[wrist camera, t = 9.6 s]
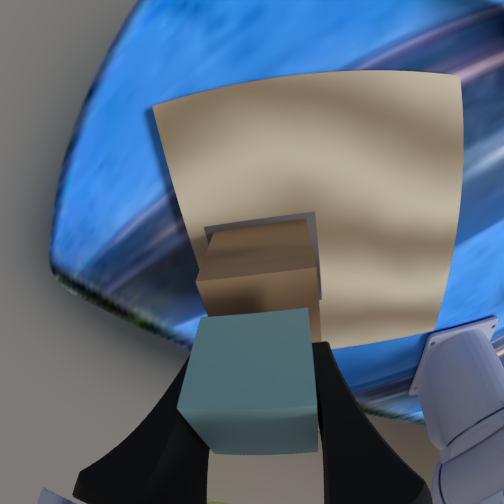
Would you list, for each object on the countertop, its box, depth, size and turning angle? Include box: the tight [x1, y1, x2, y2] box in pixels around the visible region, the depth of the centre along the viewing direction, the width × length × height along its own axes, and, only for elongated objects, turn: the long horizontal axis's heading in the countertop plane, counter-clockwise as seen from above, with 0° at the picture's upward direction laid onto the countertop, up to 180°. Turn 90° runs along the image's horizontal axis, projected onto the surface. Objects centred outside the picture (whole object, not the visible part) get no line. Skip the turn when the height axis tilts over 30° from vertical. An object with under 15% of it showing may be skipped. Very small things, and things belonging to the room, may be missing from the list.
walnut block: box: [195, 219, 322, 343], centre depth 15 cm, size 5×5×4 cm
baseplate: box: [152, 70, 463, 349], centre depth 16 cm, size 18×16×1 cm
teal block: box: [177, 308, 318, 455], centre depth 10 cm, size 4×4×4 cm
